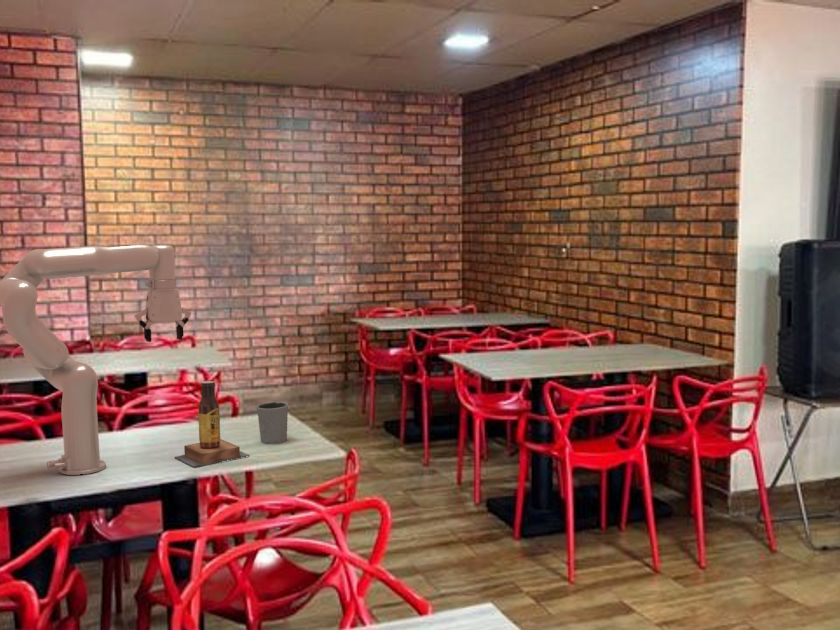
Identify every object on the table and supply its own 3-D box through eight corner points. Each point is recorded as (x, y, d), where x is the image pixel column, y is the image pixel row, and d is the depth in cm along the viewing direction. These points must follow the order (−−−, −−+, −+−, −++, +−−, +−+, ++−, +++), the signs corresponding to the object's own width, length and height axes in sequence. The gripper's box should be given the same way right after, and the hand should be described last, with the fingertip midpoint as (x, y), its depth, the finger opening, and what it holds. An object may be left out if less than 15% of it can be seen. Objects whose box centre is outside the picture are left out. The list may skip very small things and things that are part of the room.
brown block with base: (193, 468, 240) (193, 456, 239) (174, 458, 250) (174, 447, 250) (249, 456, 251) (249, 445, 250) (228, 447, 262) (228, 436, 261)
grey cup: (291, 436, 275) (289, 401, 273) (287, 444, 265) (285, 407, 263) (260, 437, 274) (259, 402, 273) (255, 445, 264) (254, 408, 263)
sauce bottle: (214, 449, 246) (212, 384, 244) (195, 448, 248) (192, 383, 246) (224, 443, 253) (221, 380, 251) (205, 443, 254) (203, 379, 252)
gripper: (138, 286, 245) (139, 343, 246) (194, 284, 255) (195, 339, 256) (130, 285, 251) (132, 341, 252) (185, 283, 261) (187, 337, 262)
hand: (164, 340), depth 254 cm, fingers open, 9 cm apart
